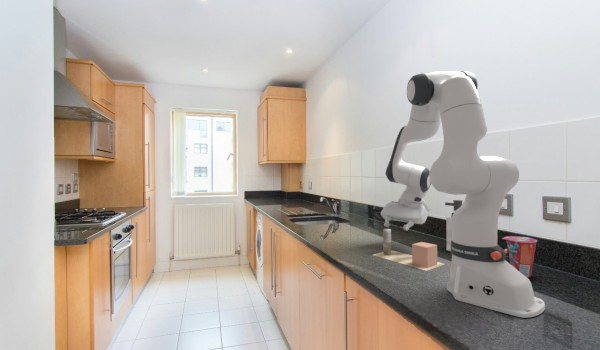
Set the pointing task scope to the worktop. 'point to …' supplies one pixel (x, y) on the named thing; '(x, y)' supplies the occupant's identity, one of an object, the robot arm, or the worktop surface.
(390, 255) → the birch strip
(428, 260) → the terracotta block
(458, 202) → the soap dispenser
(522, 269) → the cup
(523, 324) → the worktop surface
